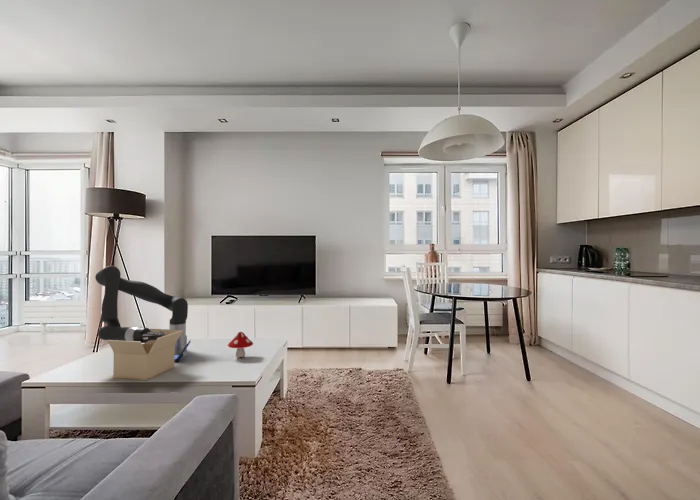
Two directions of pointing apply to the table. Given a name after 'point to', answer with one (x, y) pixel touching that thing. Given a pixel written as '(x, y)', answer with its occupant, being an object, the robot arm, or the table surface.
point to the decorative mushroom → (240, 344)
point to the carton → (141, 358)
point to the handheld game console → (179, 356)
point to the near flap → (165, 341)
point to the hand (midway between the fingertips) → (168, 336)
